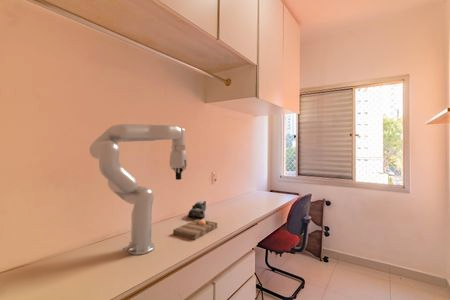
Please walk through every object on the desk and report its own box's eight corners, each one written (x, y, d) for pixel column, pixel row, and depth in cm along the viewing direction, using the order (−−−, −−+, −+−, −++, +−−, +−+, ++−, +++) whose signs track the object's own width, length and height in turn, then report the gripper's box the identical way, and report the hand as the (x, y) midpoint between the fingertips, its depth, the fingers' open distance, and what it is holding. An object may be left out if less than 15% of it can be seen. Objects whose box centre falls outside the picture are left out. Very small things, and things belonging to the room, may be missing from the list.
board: (194, 240, 125) (194, 234, 125) (173, 234, 133) (173, 229, 133) (217, 227, 146) (217, 222, 146) (197, 223, 154) (197, 219, 154)
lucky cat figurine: (184, 216, 171) (190, 198, 177) (198, 220, 175) (203, 203, 181) (191, 215, 158) (197, 196, 164) (206, 220, 163) (211, 201, 169)
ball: (207, 220, 146) (203, 223, 142) (206, 227, 147) (201, 230, 143) (202, 217, 148) (197, 220, 144) (200, 224, 150) (195, 226, 145)
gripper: (164, 148, 133) (164, 179, 133) (184, 148, 126) (184, 181, 126) (173, 148, 140) (173, 177, 140) (192, 148, 132) (192, 179, 132)
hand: (178, 179), depth 133 cm, fingers closed
